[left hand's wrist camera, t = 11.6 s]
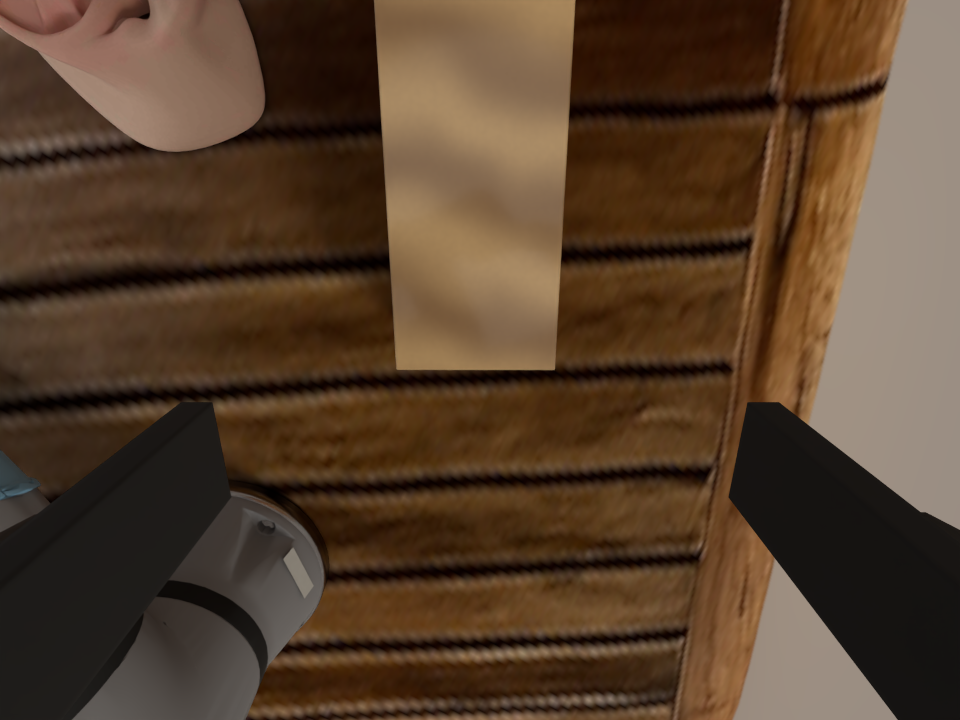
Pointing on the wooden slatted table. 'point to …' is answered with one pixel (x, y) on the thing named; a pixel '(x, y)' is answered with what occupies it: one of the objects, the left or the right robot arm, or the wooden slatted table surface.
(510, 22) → the long beam
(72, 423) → the wooden slatted table surface
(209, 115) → the anatomical model
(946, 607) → the left robot arm
